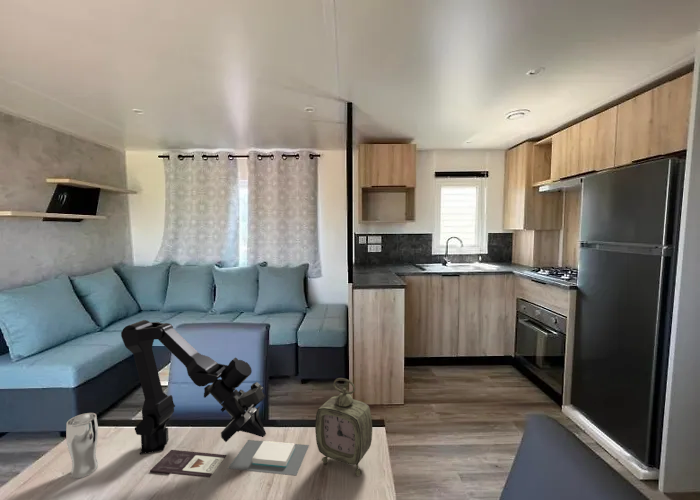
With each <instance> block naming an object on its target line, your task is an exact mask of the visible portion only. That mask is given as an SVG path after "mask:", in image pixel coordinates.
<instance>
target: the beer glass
mask: <svg viewBox="0 0 700 500" xmlns="http://www.w3.org/2000/svg"><path fill="white" fill-rule="evenodd" d="M97 418H98V417H97V413H94V412H87V413H82V414H78V415H76V416H73V417H72V418H70V419H68V421H67V422H66V429H65V431H66V432H65V433H66V434H65V435H66V438H65V440H66V446H67V449H68V452H69V455H70V459H71V460H70V461H71V470H70V477H71V478H72V479H80V478H85V477H87V476H89V475H92V474H93V473H94V472H96V471H97V470H98V467H99V463H98V459H97V446H98V439H99V425H98V419H97Z"/></svg>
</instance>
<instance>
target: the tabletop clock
mask: <svg viewBox="0 0 700 500" xmlns="http://www.w3.org/2000/svg"><path fill="white" fill-rule="evenodd" d="M339 381H340V382H342V381H343V382H346V383H349V384H350V385H351V386H352V388H353V390H351V391H347V388H346V387H343V388H342V389H340V388H338V387H337V386H336V383H337V382H339ZM332 386H333V387H334V389H335V390H336V391H337V392H339V394H338V395H337V396H336V395H335V396H332V397H330V398H328V400H327V401H326V402H324V403H323V404H322V405H321V406H320V407H318V408H317V411H316V415H315V425H314V427H315V428H314V429H315V430H314V431H315V440H316V446H317V449H318V451H319V453H321V454H322V455H324V456H323V457H322V459H321V461H322V463H323V464H325V465H326V464H327V463H328V458H329V459H332V460H334V461H336V462H339V463H342V464H346V465H350V466H355V468H356V469H355V472H354V473H355V475H356V476H357V477H359V476H361V475H362V470H361V469H360V468H359V463H360V462H361V461H362V459H363V458H364V457H365V455H366V454H367V452H368V451H369V449H370V448H371V445H372V441H373V420H372V418H373V417H372V414H371V413H372V411H371V408H370V405H368V404H367V403H366V402H363V401H360V400H357V399H354V398H353V397H352V395H351V394H353V393H355V391H356V386H355V384H354V382H352V381H351V380H350V379H347V378H343V377H338V378H336V379H335V380H334V381H333V384H332Z"/></svg>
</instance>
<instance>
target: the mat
mask: <svg viewBox="0 0 700 500" xmlns="http://www.w3.org/2000/svg"><path fill="white" fill-rule="evenodd" d="M263 441H264V440H255V439H247V440H246V443H245V444H244V445H243V446H242V448H241V450H240V451H239V452H238V453H237V454H236V456H235V458H234V459H233V460H232V462H231V463H230V465H229V466H228V467H227V469H228V470H234V471H235V470H237V471H244V472H245V471H247V472H258V473H266V474H276V475H285V476H287V475H288V476H297V475H298V473H299V470H300V468H301V466H302V463H303V461H304V458H305V457H306V454H307V451H308V449H309V447H310V445H309V444H301V443H295V450H294V452H293V454H292V456H291V458H290V461H289V463H288V465H287V467H286V468H285V467H275V466H264V465H254V464H252V458H253V456H254V455H255V453H256V452H257V450H258V449H259V447H260V446H261V444H262V442H263Z"/></svg>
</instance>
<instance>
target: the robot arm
mask: <svg viewBox="0 0 700 500" xmlns="http://www.w3.org/2000/svg"><path fill="white" fill-rule="evenodd" d="M120 333H121V334H120V336H121V339H122V341H123V344H124V346H125V348H126V349H127V350H128V351H129V352H130V353H132V354H133V358H134V361H135V365H136V369H137V373H138V378H139V381H140V386H141V389H142V392H143V397H144V401H143V405H142V409H141V415H142V416H141V418H142V420H141V421H140V422H139V423H138V424H137V425H136V426H135V427H134V431H135V433H136V435H137V436H140V440H141V441H140V443H141V449H140V451H139V455H146V454H150V453H157V452H161V451H164V450H165V447H166V446H167V444H168V442H169V428H168V427H167V422H169V421H170V419H171V417H172V416H173V414H174V412H175V407H176V404H175V403H174V400H173V398H174V397H173V395H171V394H170V395H167V394H166V393H165V392H164V391H163V387H162V386H163V385H162V382H161V380H160V378H161V377H160V375H159V371H158V366H157V363H156V359H155V355H154V351H153V345H154V341H155V340H158V341H159V342H160V343H161V344H162V345H163V346H164V347H165V348H166V349H167V350H168V351H169V352H170V353H171V354H173V355H172V356H174V357H175V358H176V359H178V361H180V362H181V364H183V366H184V367H185V368H186V371H187V376H188V377H189V378H190V380H191V381H192V382H193V384H194V385H195V386H197V387H204V388H203V390H204V392H203V398H208V396H209V395H211V396H212V397H213V398H214V399H215V400H216V401H217V403H218V404H219V405H220V406H222V407H221V409H220V411H221V412H222V413H224V411H226V412H227V414H229V415H230V416H231V418H230V422H229V423H228V424H227V425H226V426H225V427H224V429H223V430H222V431H221V432H220V437H221V439H222V440H223V441H224V442H225V443H227V442H228V441H229V440H230V439H231V438H232V437H233V436H234V435H235V434H236V433H239V432H244V433H247V434H248V433H249V434H251V435H253V436H257V437H260V438H265V437H266V435H267V433H266V430H265V428H264V425H263V423H262V421H261V418H260V409H261V407H260V406H258V405H259V403H261V402H262V401H264V399H266V397H267V396H266V394H265V393H264V392H263V390H264V386H262V385H261V384H260V383H259V382H258V381H256V382H254V383H252V384H251V385H250V389H248V390H247V391H244V390H243V389H239V390H237V389H238V387H240V386H241V385H242V384H243V383H244V382H245V381H246V379H248V378H249V377H250V375H251V374H252V371H253V370H252V367H251V364H249V363H248V362H246V361H244V360H242V359H238V358H237V357H234V358H233V359H231V360H230V362H229V364H222V363H218V362H216V361H215V360H214V359H213V358H211V357H210V356H208V355H205V354H204V355H203V354H201V353H200V352H198V351H197V350H196V348H194V347H193V345H192V344H190V343H189V342H188V341H187V340H186V339H185V338H184V337H183V336H182V335H181V334H180V333H178V331H177V330H176V329H174V326H173V325H172V324H171V323H169V322H168V323H167V322H159V321H154V322H153V321H148V320H146V319H143V320H139V321H137V322H135V323H134V322H133V323H132V324H128V325H127V326H124V327H123V328H122V331H121V332H120ZM220 378H221V379H220ZM256 407H257V408H256Z"/></svg>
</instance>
